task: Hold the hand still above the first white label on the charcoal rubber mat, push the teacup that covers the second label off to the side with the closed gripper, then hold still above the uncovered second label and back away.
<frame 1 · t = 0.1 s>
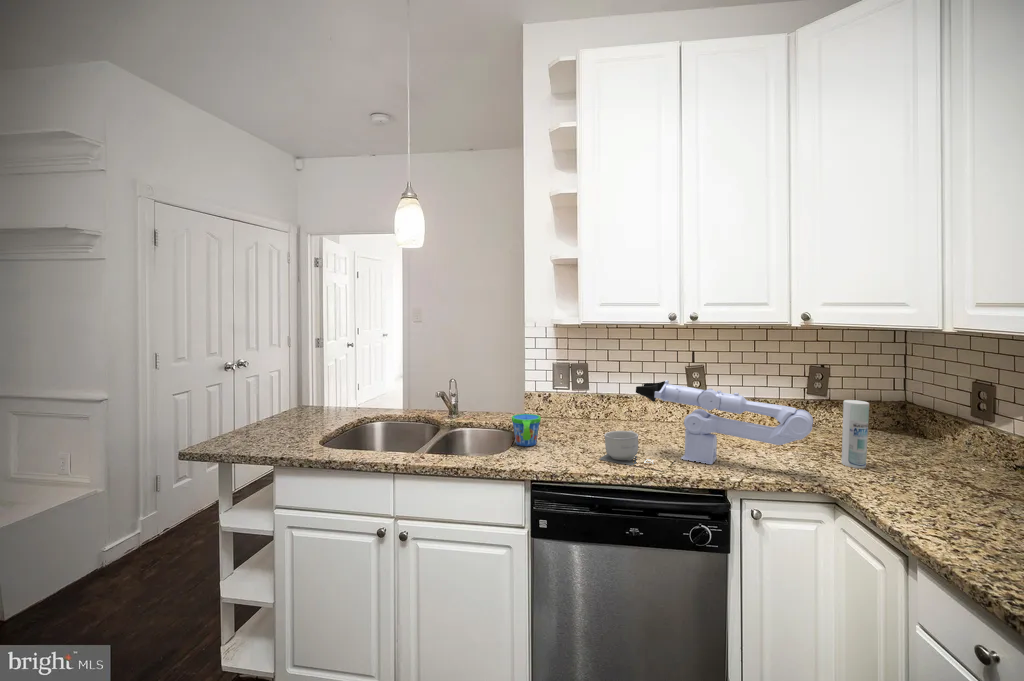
hand: (639, 387, 163), 22 cm above the worktop, tool horizontal, fingers open, 7 cm apart
label mat: (637, 460, 153), on the worktop
snack cup: (526, 444, 171), on the worktop
teacup: (623, 457, 155), resting on label mat
spray can: (853, 465, 147), on the worktop
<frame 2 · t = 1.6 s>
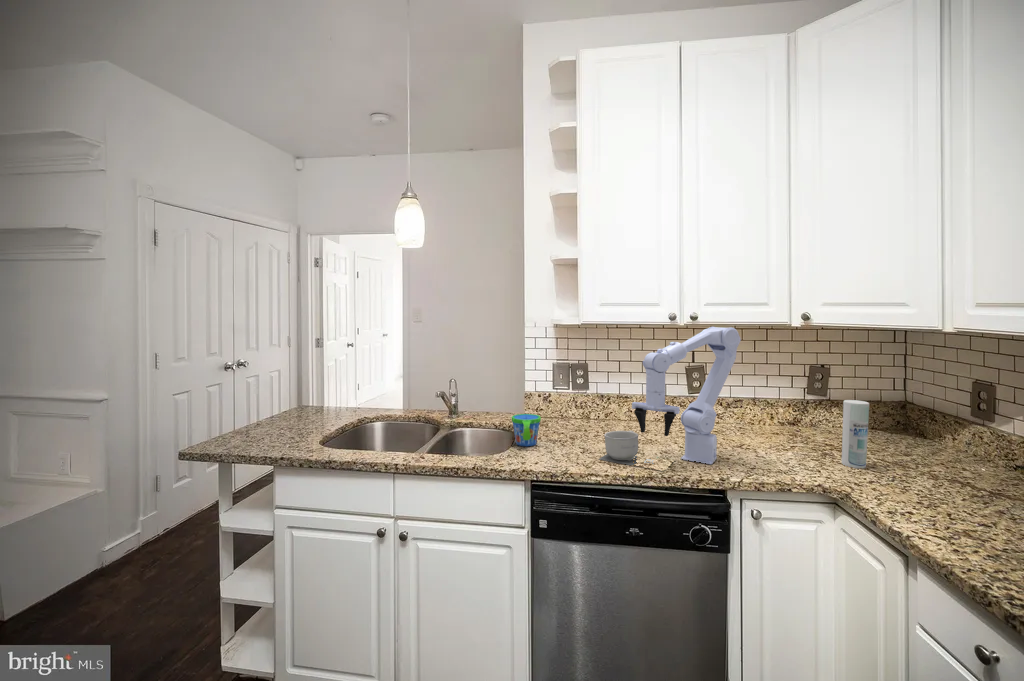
hand: (654, 433, 149), 9 cm above the worktop, tool pointing down, fingers open, 7 cm apart
nothing on the worktop moved.
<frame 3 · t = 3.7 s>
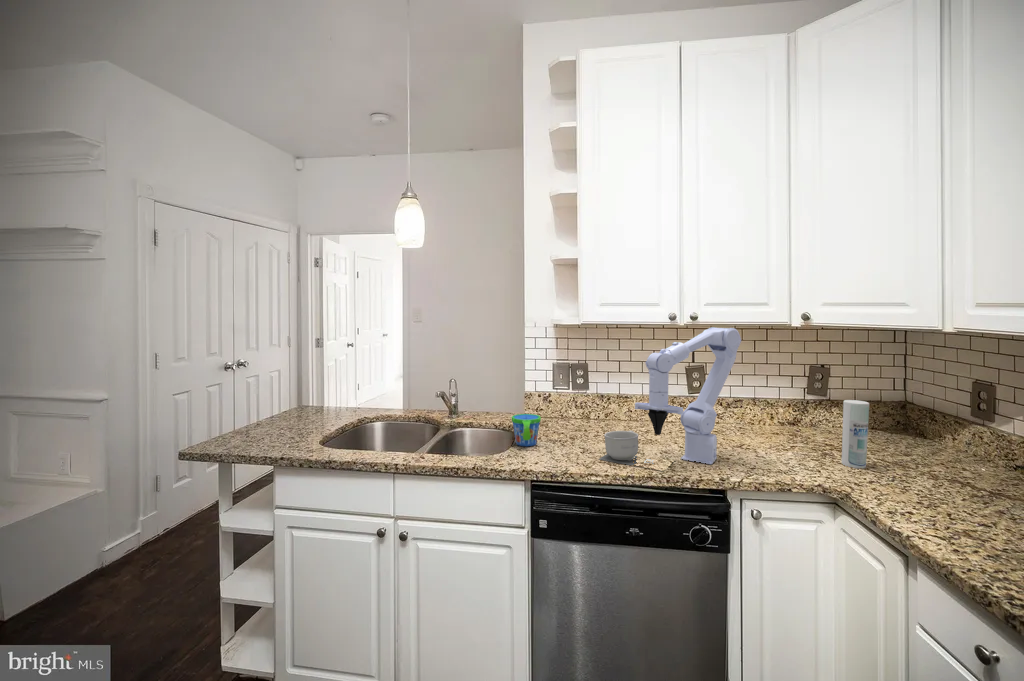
hand: (657, 434, 148), 9 cm above the worktop, tool pointing down, fingers closed
nothing on the worktop moved.
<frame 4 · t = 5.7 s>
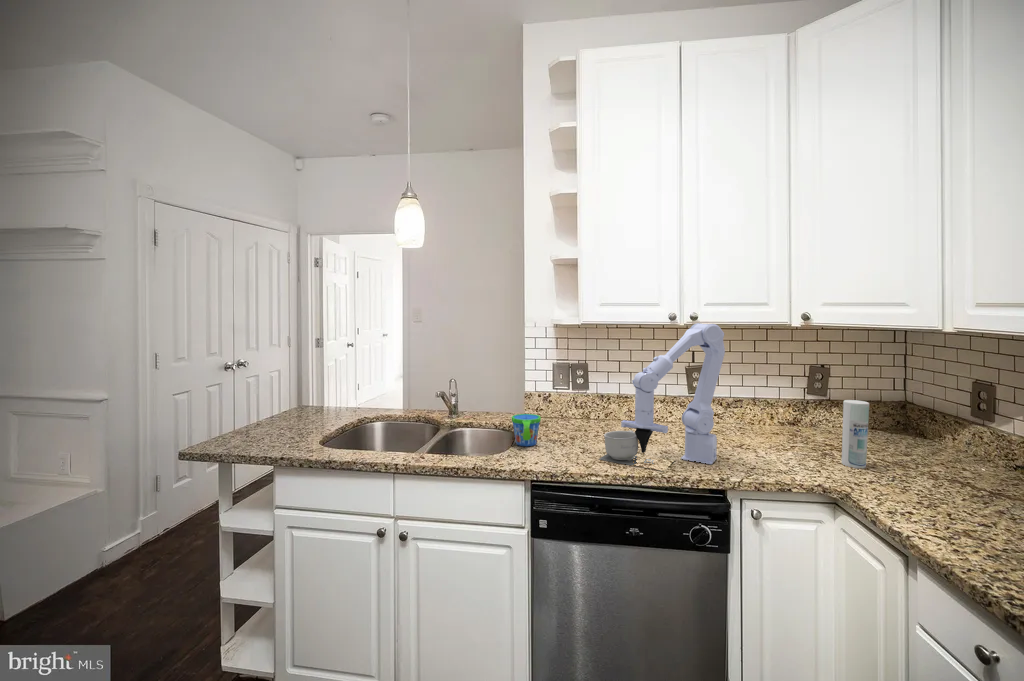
hand: (643, 452, 151), 3 cm above the worktop, tool pointing down, fingers closed, pressing on teacup
teacup: (623, 457, 155), resting on label mat, touching gripper
everything else where it was.
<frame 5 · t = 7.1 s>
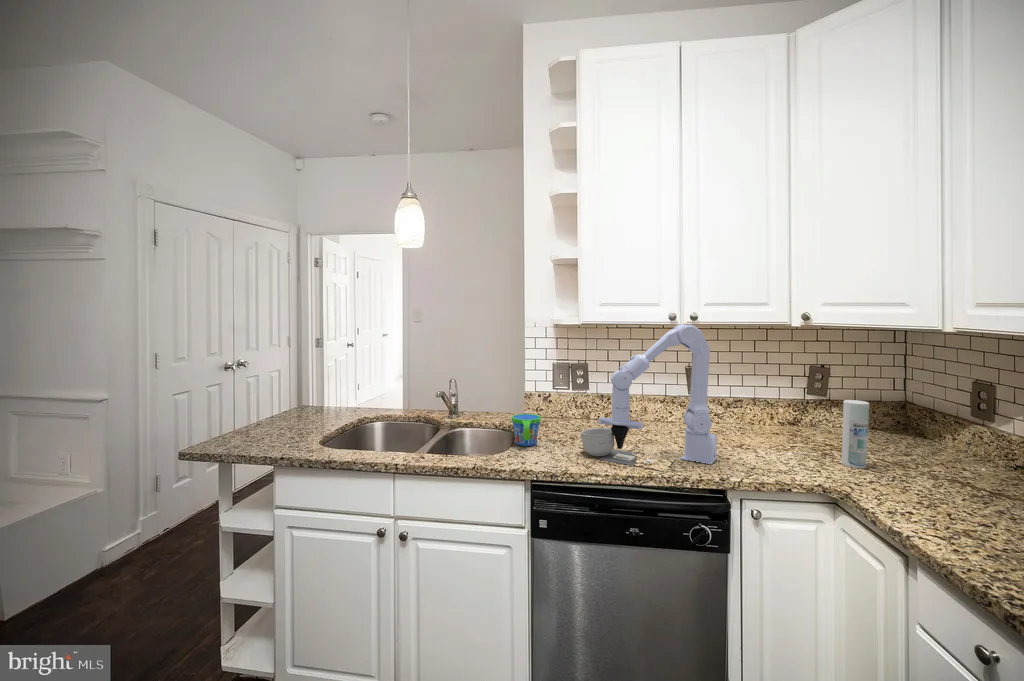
hand: (620, 448, 156), 3 cm above the worktop, tool pointing down, fingers closed
teacup: (601, 453, 159), on the worktop, touching gripper
everything else where it was.
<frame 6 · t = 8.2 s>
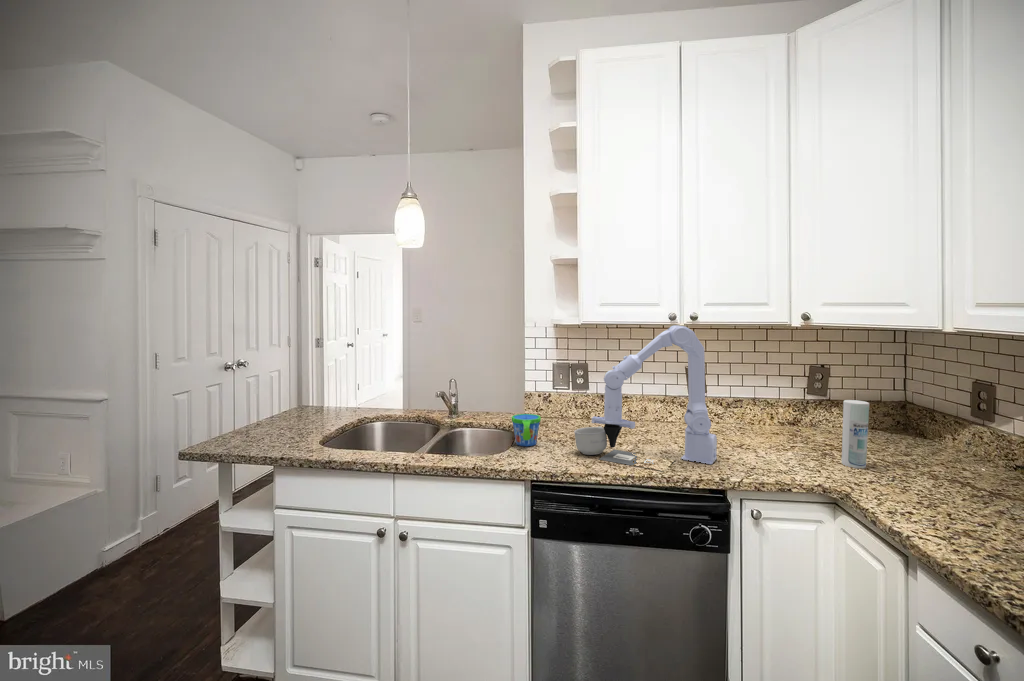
hand: (612, 446, 157), 3 cm above the worktop, tool pointing down, fingers closed
teacup: (594, 452, 161), on the worktop, touching gripper
everything else where it was.
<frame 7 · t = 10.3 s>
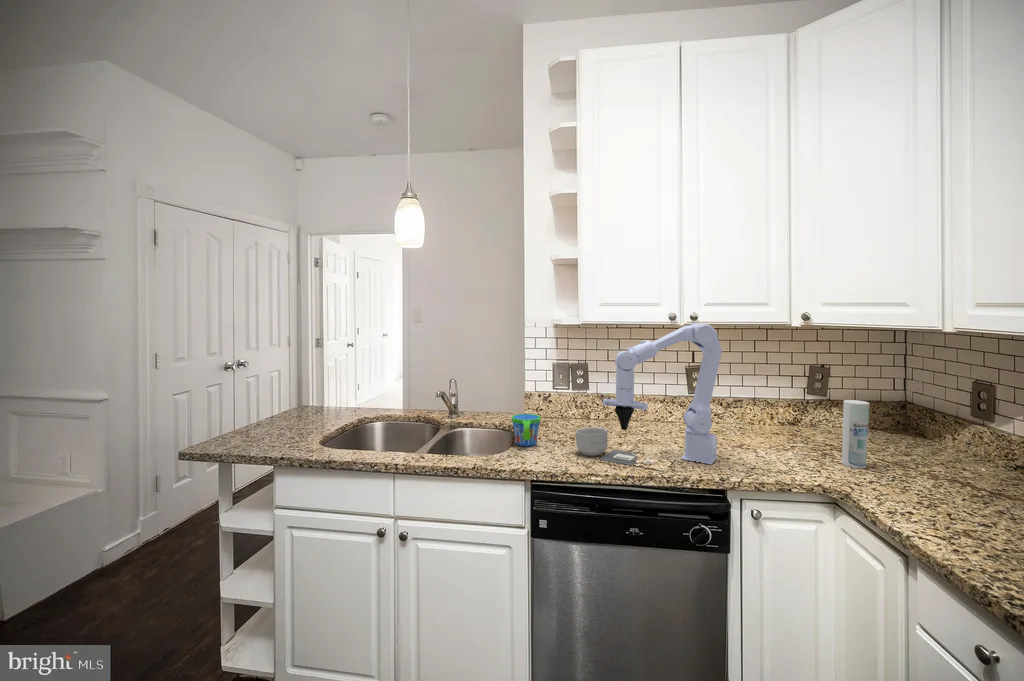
hand: (624, 429, 155), 9 cm above the worktop, tool pointing down, fingers closed
teacup: (593, 453, 161), on the worktop
everything else where it was.
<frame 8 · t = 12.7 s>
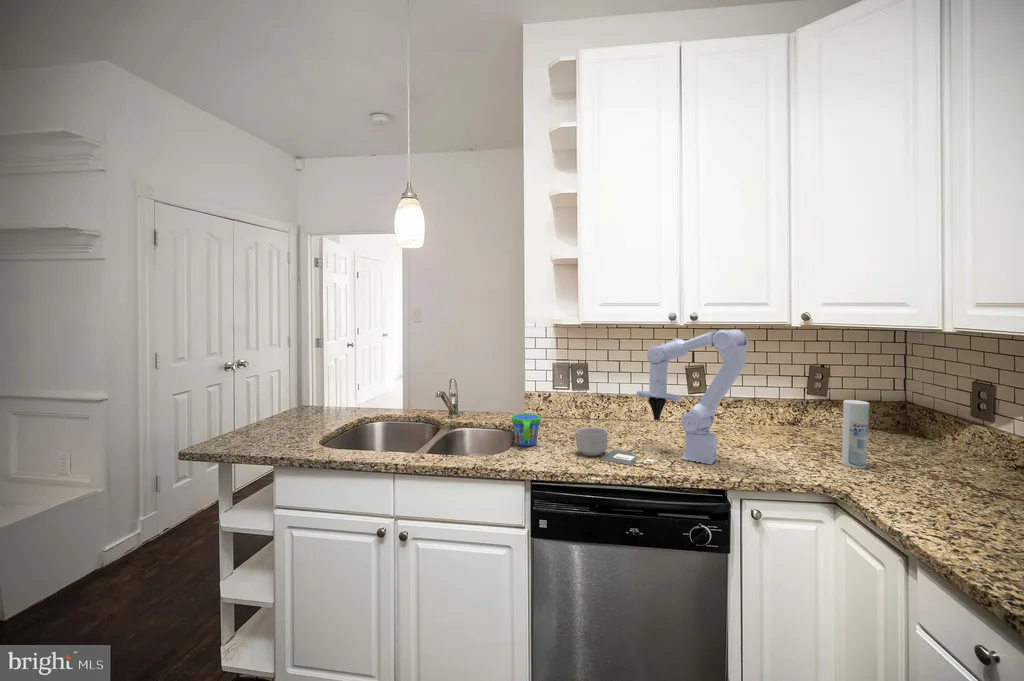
hand: (656, 419, 165), 10 cm above the worktop, tool pointing down, fingers closed
nothing on the worktop moved.
at the end: teacup inside the target area (2.9 cm from its centre), on the worktop; teacup tilted 0°; teacup moved 10.6 cm from its start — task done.
